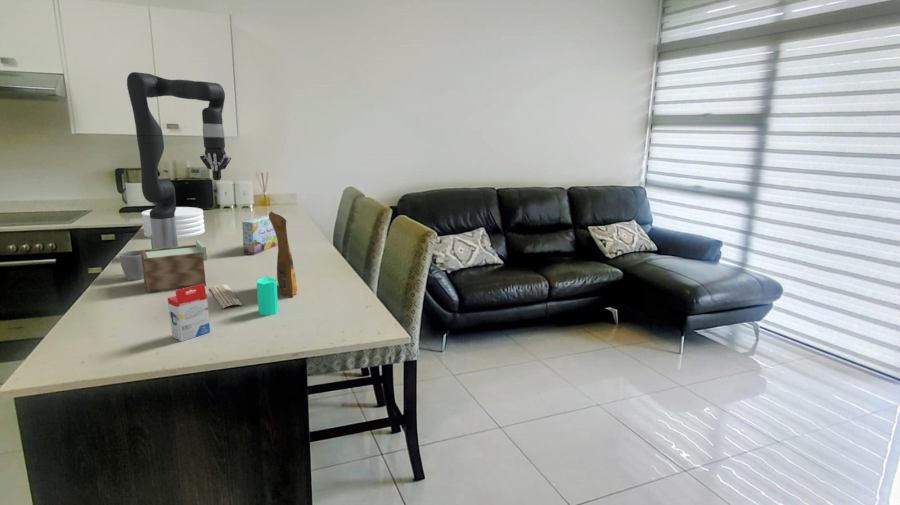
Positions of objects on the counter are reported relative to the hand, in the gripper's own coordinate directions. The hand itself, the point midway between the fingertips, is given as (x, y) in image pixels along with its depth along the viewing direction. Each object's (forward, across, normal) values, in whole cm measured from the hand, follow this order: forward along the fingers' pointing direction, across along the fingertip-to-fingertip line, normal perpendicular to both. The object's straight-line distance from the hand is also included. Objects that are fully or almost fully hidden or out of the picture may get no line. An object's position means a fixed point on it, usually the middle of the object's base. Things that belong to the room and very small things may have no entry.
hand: (217, 180), depth 200 cm
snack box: (+35, 0, +27) cm, 44 cm away
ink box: (+35, +38, -64) cm, 82 cm away
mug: (+35, -18, -26) cm, 47 cm away
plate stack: (+36, -61, +42) cm, 82 cm away
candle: (+35, +48, -42) cm, 73 cm away
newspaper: (+36, +27, -34) cm, 56 cm away
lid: (+26, +2, -27) cm, 38 cm away
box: (+35, +1, -28) cm, 45 cm away
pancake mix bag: (+35, +42, -22) cm, 59 cm away
